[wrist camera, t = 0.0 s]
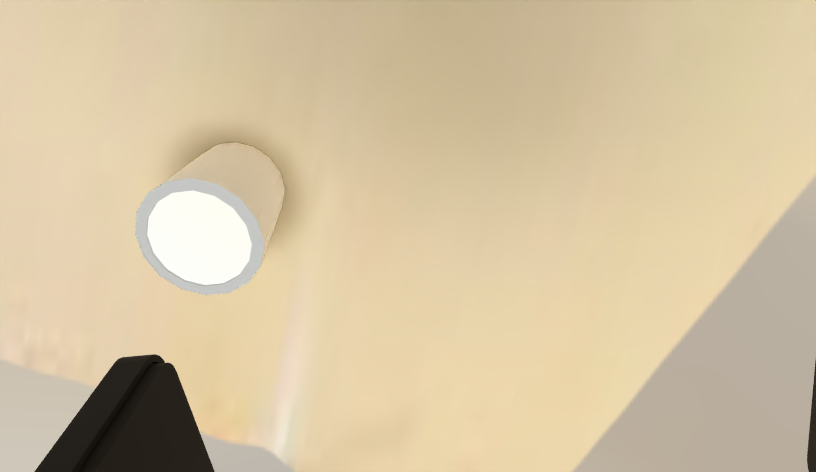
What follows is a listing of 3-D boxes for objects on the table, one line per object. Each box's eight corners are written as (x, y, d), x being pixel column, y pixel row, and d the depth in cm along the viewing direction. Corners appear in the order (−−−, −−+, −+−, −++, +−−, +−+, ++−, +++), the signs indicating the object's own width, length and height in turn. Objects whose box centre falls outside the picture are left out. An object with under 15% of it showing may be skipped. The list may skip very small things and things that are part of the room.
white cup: (313, 219, 45) (285, 277, 39) (215, 249, 47) (173, 310, 41) (264, 116, 42) (226, 161, 36) (162, 152, 44) (109, 201, 38)
